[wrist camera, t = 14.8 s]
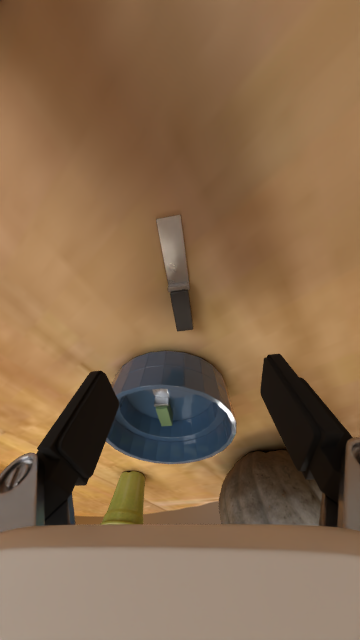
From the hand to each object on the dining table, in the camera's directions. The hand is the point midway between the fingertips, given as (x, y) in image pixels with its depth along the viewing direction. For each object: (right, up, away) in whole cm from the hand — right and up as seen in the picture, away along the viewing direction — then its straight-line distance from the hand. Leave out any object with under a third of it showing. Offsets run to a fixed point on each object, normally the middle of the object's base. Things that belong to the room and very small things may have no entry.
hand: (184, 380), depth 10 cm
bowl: (-2, -8, +16) cm, 18 cm away
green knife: (-3, -8, +15) cm, 18 cm away
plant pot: (-12, -36, +31) cm, 49 cm away
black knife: (0, +8, +7) cm, 11 cm away
